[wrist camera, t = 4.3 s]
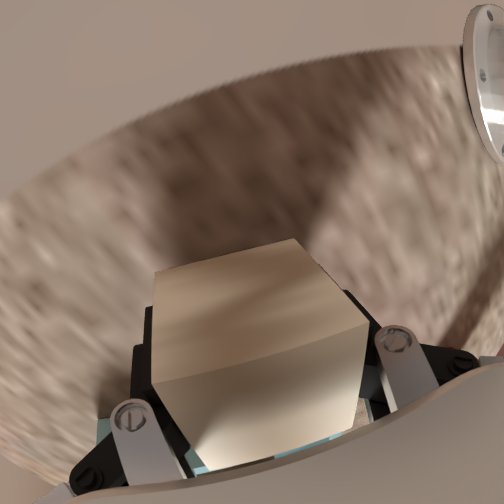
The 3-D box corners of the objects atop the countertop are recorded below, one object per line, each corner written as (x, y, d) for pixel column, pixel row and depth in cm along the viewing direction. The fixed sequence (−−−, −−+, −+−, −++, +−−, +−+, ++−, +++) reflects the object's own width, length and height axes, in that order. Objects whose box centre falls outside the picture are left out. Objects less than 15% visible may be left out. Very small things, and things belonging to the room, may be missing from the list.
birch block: (293, 237, 11) (369, 321, 7) (302, 339, 13) (352, 427, 9) (155, 272, 10) (151, 383, 6) (192, 369, 13) (209, 470, 8)
